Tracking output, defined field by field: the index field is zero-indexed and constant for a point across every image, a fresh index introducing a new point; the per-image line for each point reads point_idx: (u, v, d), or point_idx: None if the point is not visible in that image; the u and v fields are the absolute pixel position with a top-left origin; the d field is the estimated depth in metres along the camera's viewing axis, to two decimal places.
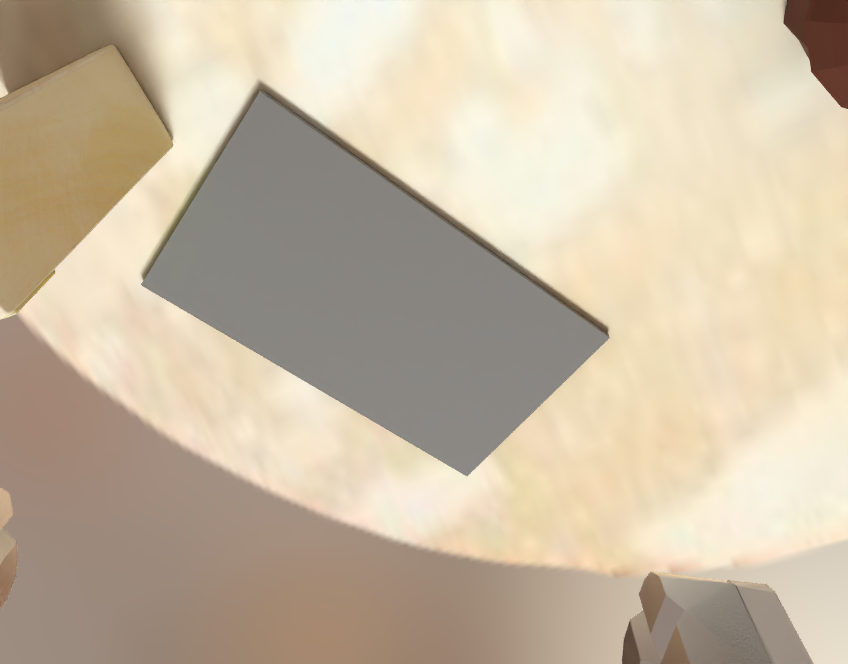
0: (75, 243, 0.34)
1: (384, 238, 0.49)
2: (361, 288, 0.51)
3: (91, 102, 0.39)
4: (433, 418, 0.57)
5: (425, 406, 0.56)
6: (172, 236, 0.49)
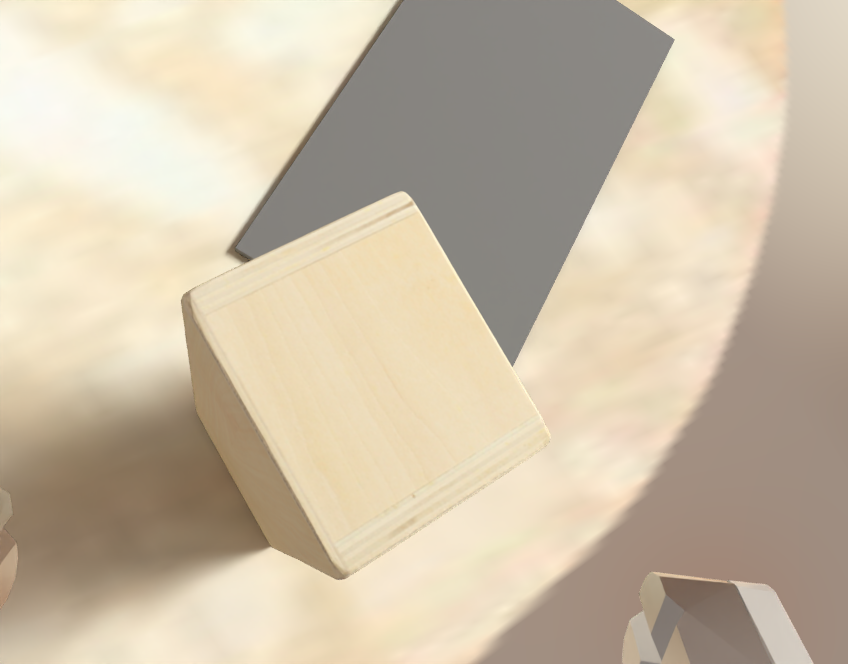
0: None
1: (390, 122, 0.43)
2: (456, 148, 0.44)
3: None
4: (606, 74, 0.48)
5: (592, 83, 0.48)
6: None
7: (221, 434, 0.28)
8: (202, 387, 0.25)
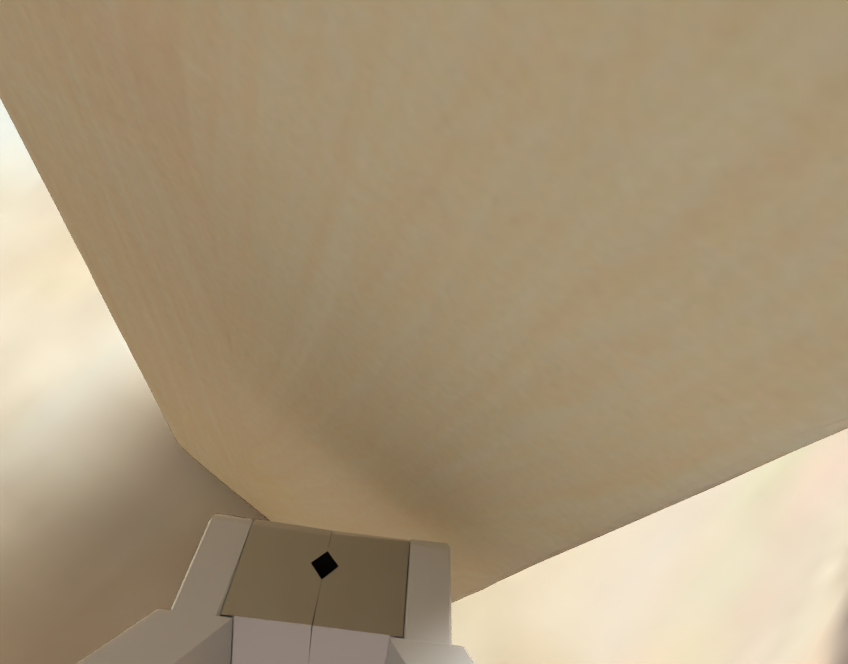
0: None
1: None
2: None
3: None
4: None
5: None
6: None
7: (209, 379, 0.12)
8: (88, 204, 0.09)
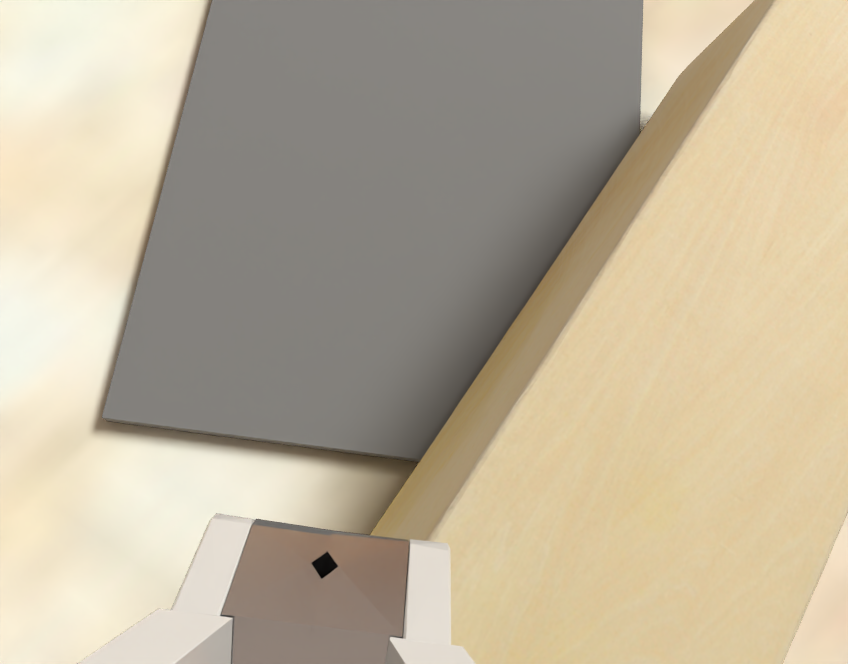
0: (599, 195, 0.25)
1: (279, 115, 0.26)
2: (395, 111, 0.27)
3: (516, 370, 0.18)
4: None
5: None
6: None
7: (702, 312, 0.17)
8: (719, 167, 0.18)
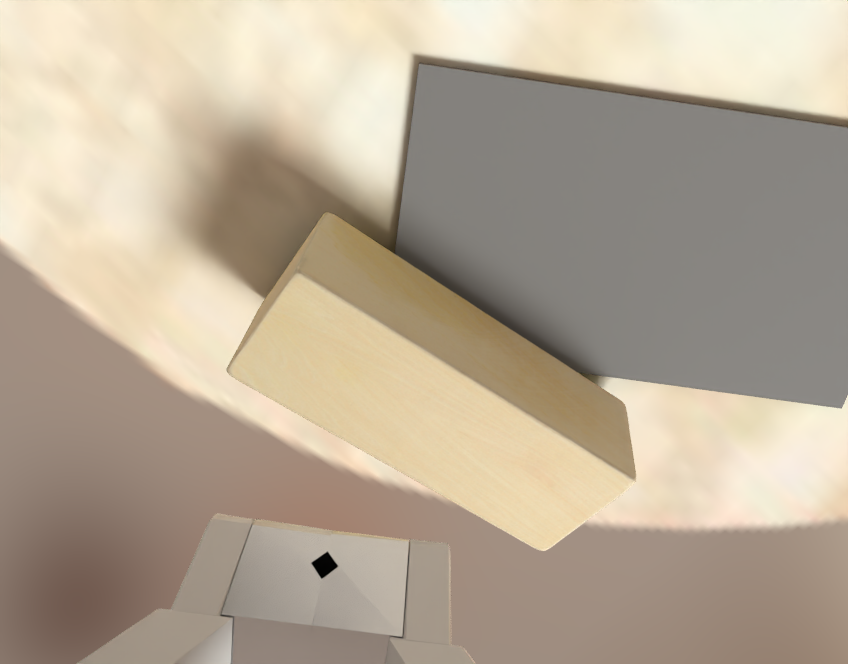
0: (543, 350, 0.43)
1: (622, 160, 0.40)
2: (619, 234, 0.42)
3: (412, 317, 0.38)
4: (769, 353, 0.44)
5: (753, 342, 0.44)
6: None
7: (431, 402, 0.38)
8: (503, 420, 0.38)
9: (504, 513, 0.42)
